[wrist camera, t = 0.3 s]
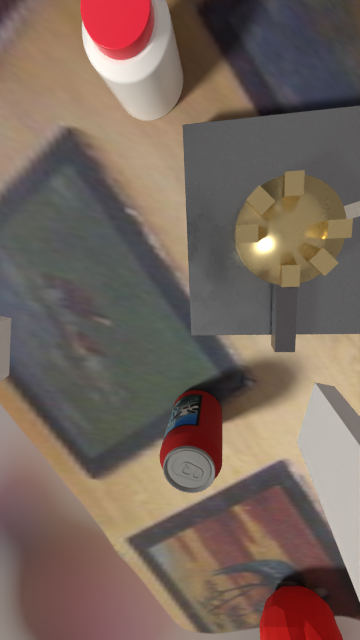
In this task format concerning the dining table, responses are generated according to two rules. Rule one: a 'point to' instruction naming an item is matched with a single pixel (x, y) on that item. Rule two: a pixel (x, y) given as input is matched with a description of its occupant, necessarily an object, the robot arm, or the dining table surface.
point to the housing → (230, 195)
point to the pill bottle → (134, 53)
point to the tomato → (297, 616)
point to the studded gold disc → (290, 241)
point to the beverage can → (193, 442)
